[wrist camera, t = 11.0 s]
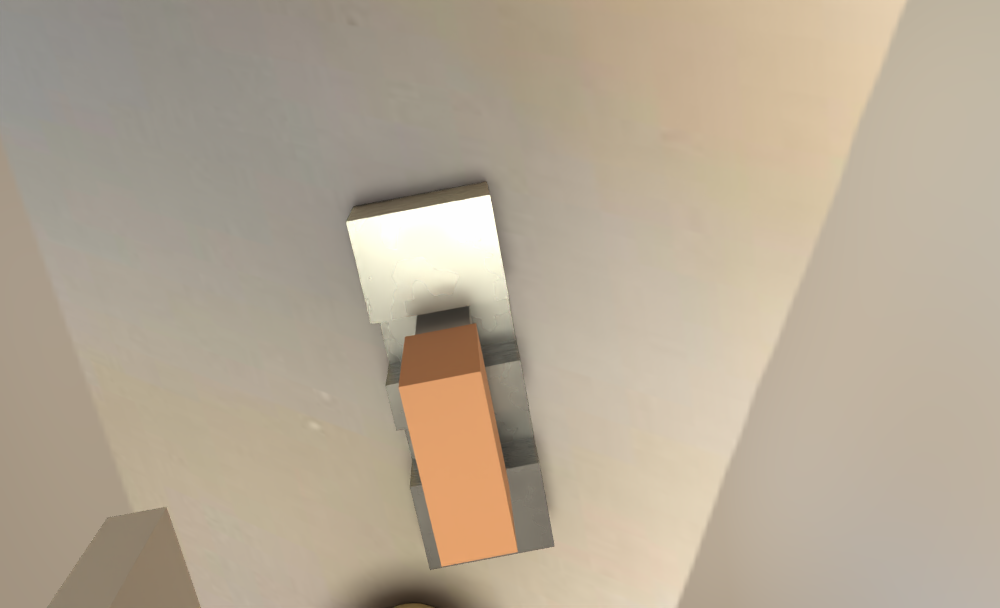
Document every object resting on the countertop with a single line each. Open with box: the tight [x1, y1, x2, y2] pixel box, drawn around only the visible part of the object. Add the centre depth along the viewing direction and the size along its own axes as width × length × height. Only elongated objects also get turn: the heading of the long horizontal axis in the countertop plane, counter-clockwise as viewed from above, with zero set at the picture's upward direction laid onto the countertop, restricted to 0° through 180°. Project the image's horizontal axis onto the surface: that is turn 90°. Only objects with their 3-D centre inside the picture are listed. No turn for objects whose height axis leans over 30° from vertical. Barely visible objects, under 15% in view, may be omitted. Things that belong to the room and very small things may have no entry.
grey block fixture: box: [346, 182, 554, 570], centre depth 46 cm, size 20×7×4 cm, turn 10°
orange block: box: [398, 306, 518, 567], centre depth 43 cm, size 9×4×10 cm, turn 10°
